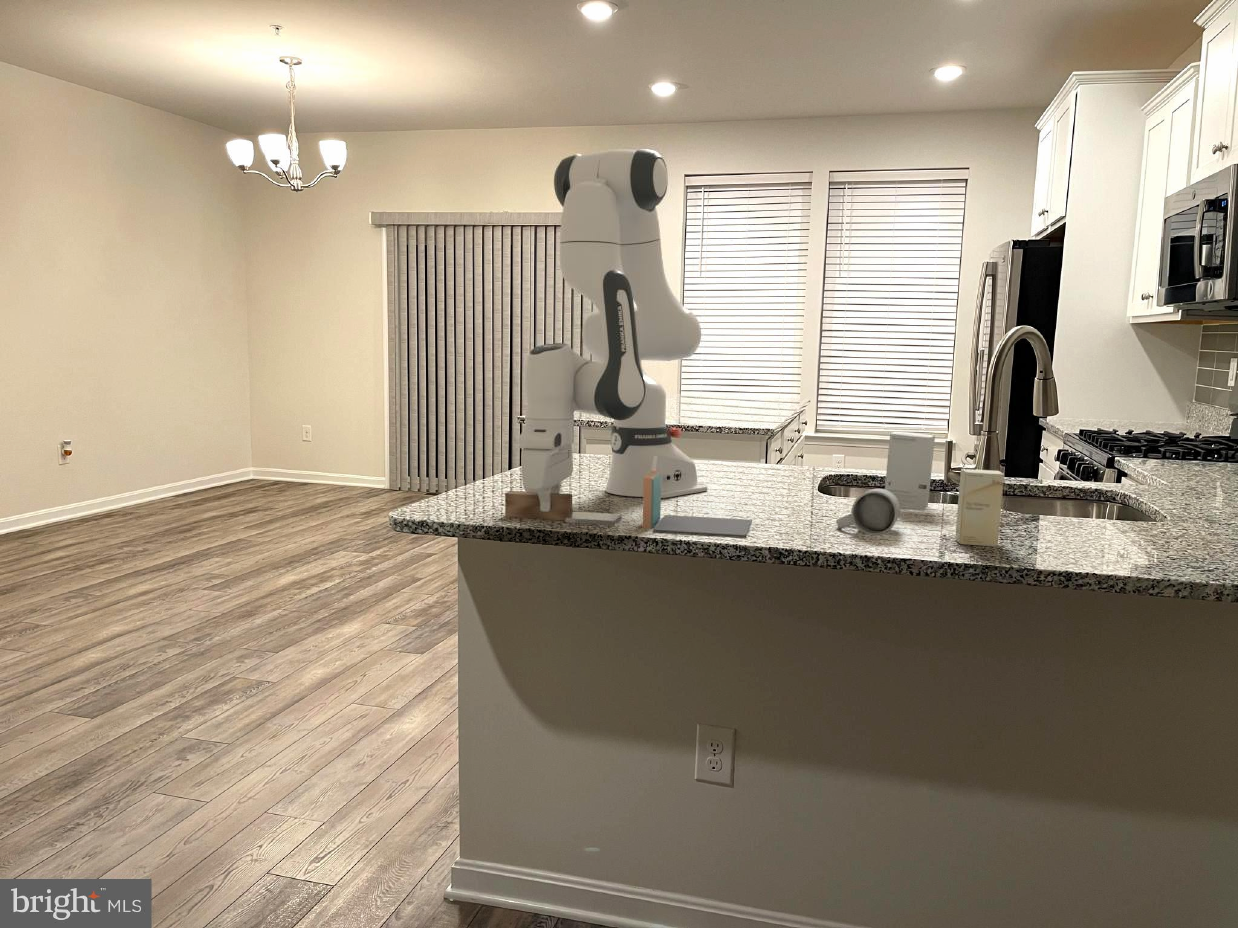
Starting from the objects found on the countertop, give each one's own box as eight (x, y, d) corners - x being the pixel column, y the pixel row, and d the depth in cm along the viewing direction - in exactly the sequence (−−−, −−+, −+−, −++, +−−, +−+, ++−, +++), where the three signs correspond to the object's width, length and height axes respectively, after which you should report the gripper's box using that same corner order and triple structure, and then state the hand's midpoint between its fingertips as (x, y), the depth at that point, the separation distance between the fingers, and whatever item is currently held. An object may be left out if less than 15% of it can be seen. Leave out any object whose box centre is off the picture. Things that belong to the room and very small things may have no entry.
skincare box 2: (959, 544, 149) (964, 472, 147) (954, 538, 153) (959, 468, 151) (999, 547, 148) (1005, 473, 146) (993, 541, 152) (999, 469, 150)
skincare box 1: (882, 507, 180) (887, 433, 178) (887, 502, 185) (892, 430, 183) (926, 511, 176) (931, 436, 174) (930, 506, 182) (935, 433, 180)
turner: (502, 518, 165) (502, 494, 164) (513, 512, 171) (513, 489, 170) (614, 525, 160) (614, 500, 160) (621, 518, 166) (621, 495, 166)
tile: (642, 528, 158) (643, 477, 157) (650, 519, 166) (651, 470, 165) (652, 528, 158) (653, 478, 157) (660, 519, 166) (661, 471, 164)
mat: (652, 531, 155) (652, 529, 155) (665, 516, 168) (665, 514, 168) (746, 537, 152) (746, 535, 152) (751, 521, 165) (751, 519, 165)
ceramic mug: (900, 528, 161) (902, 485, 160) (895, 537, 154) (897, 493, 153) (839, 523, 165) (841, 482, 164) (832, 532, 158) (834, 489, 157)
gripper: (549, 427, 175) (549, 497, 177) (514, 439, 155) (515, 518, 157) (581, 428, 173) (580, 499, 175) (550, 440, 153) (550, 520, 155)
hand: (549, 508), depth 166 cm, fingers closed on turner, 3 cm apart
